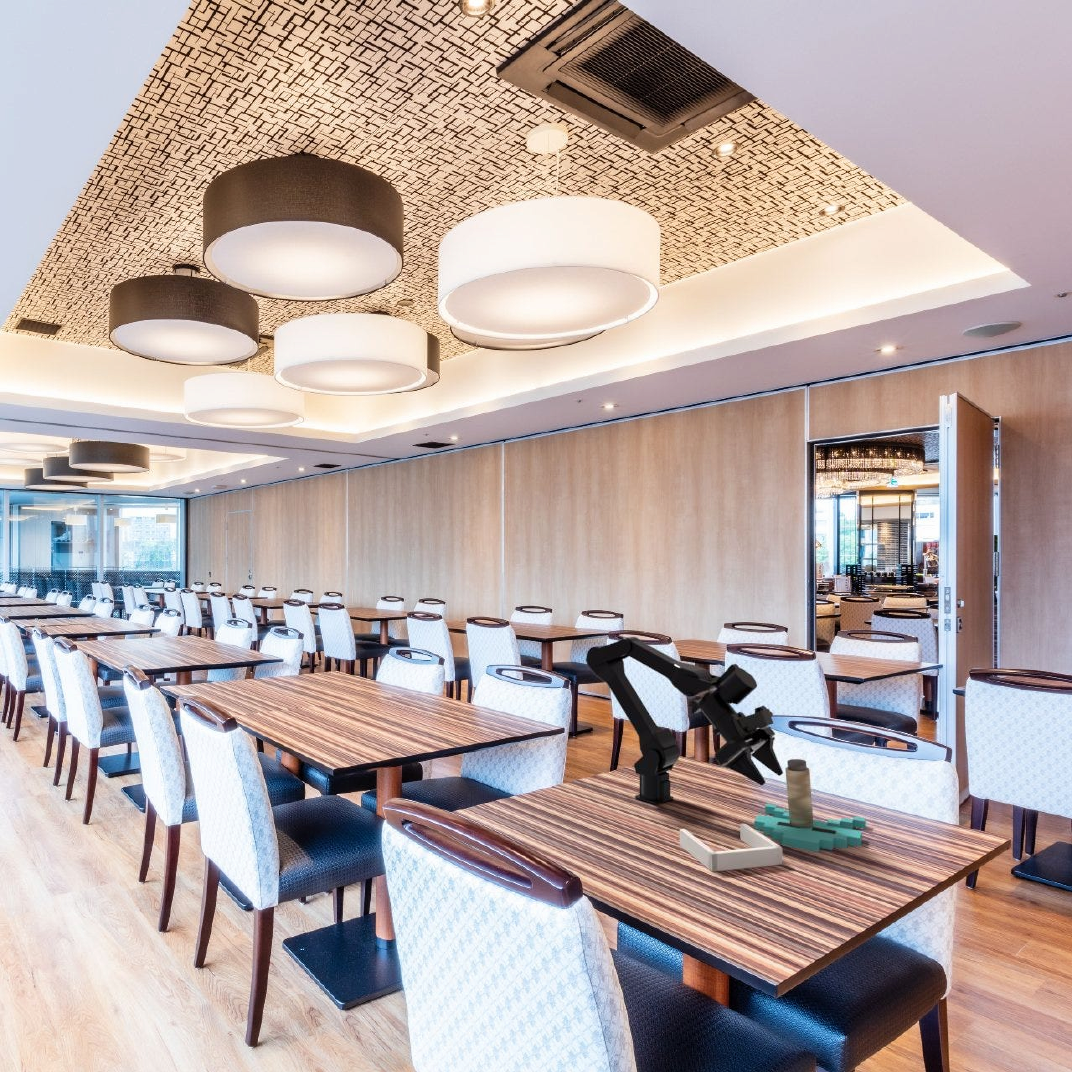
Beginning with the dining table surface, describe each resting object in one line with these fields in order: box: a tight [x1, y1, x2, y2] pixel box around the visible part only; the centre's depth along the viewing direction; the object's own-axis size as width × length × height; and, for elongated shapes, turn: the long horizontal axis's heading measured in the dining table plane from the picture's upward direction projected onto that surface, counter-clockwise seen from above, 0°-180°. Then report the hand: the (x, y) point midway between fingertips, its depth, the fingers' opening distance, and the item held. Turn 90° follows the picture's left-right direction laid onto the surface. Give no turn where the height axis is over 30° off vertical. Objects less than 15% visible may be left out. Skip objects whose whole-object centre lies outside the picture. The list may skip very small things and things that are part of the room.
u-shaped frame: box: [679, 823, 783, 873], centre depth 142 cm, size 13×14×3 cm
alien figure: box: [753, 802, 867, 853], centre depth 154 cm, size 20×2×20 cm
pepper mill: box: [784, 758, 814, 828], centre depth 154 cm, size 5×5×12 cm
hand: (772, 779), depth 157 cm, fingers open, 9 cm apart
